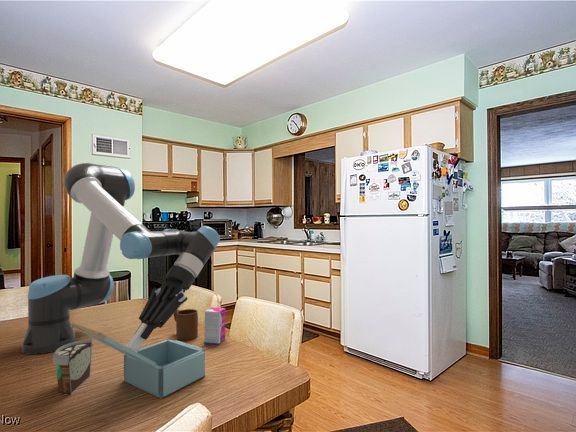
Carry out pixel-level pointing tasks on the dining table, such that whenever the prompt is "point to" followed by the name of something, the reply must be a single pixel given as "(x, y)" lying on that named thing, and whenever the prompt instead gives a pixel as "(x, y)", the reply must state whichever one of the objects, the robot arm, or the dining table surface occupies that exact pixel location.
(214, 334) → the supplement box
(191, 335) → the mug
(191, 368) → the carton
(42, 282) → the robot arm
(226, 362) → the dining table surface
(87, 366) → the food container
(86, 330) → the flap
